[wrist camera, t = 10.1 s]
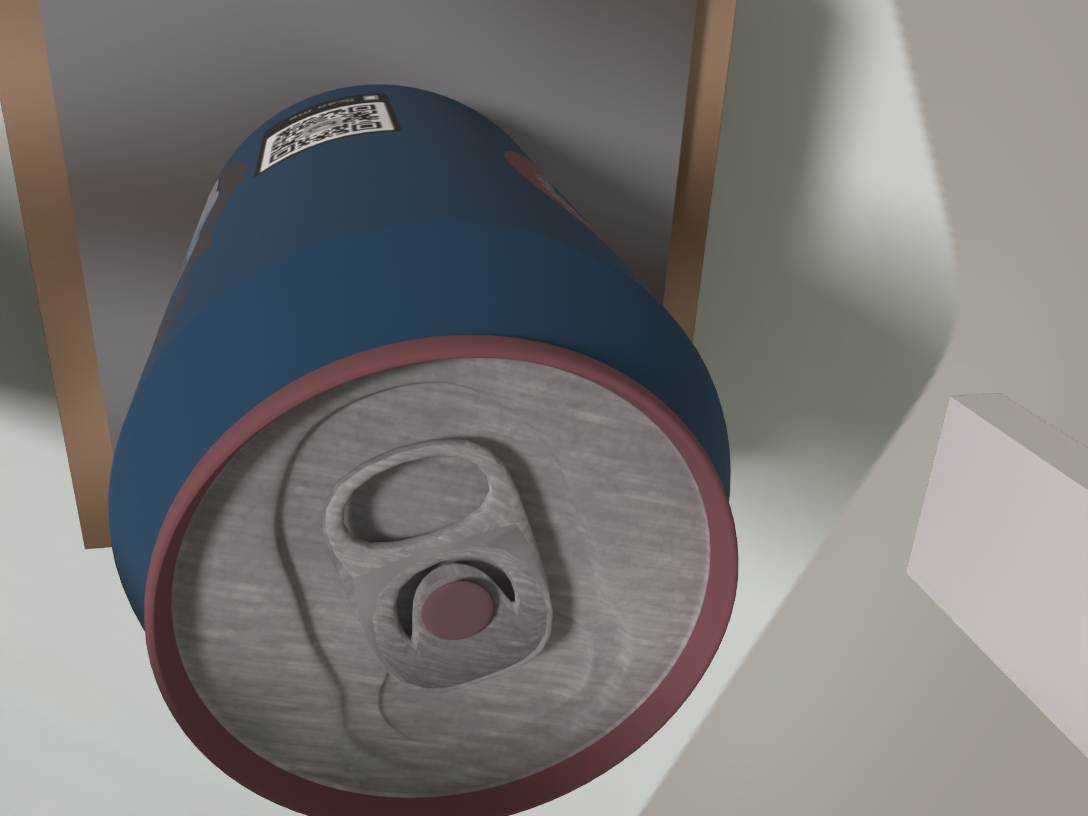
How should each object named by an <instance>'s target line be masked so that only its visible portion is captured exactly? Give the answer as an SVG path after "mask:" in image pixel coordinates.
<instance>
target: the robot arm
mask: <svg viewBox="0 0 1088 816" xmlns="http://www.w3.org/2000/svg"><path fill="white" fill-rule="evenodd" d="M906 573H907V574H908V575H909V576H910V577H911V578H912V579H913V580H914V581H915V582H916V583H917V584H918V585H919V586H920V587H921V588H922V589H923V590H924V591H925V592H926V593H927V594H928V595H929V597H930V598H931V599H932V600H933V601H934V602H935V603H936V604H937V605H938V606H939V607H940V608H941V609H942V610H943V611H944V612H945V613H946V614H947V615H948V616H949V617H950V618H951V619H952V620H953V621H954V622H955V623H956V624H957V625H958V626H959V627H960V628H961V629H962V630H963V631H964V632H965V633H966V634H967V635H968V636H969V637H970V638H971V639H972V640H973V641H974V642H975V643H976V644H977V645H978V646H979V648H981V650H982V651H983V652H984V653H985V654H986V655H988V657H989V658H990V659H991V660H992V661H993V662H994V663H995V664H996V665H997V666H998V667H999V668H1000V669H1001V670H1002V671H1003V672H1004V673H1005V674H1006V675H1007V676H1008V677H1009V678H1010V679H1011V680H1012V681H1013V682H1014V683H1015V684H1016V685H1017V686H1018V687H1019V688H1020V689H1021V690H1022V691H1023V692H1024V693H1025V694H1026V695H1027V696H1028V697H1029V698H1030V700H1032V701H1033V703H1035V705H1036V706H1037V707H1038V708H1039V709H1040V710H1041V711H1042V712H1043V713H1044V714H1045V715H1046V716H1047V717H1048V718H1049V719H1050V720H1051V721H1052V722H1053V723H1054V724H1055V725H1056V726H1057V727H1058V728H1059V729H1060V730H1061V731H1062V732H1063V733H1064V734H1065V735H1066V736H1067V737H1068V738H1069V739H1070V740H1071V741H1072V742H1073V743H1074V744H1075V745H1076V746H1077V747H1078V748H1079V749H1080V750H1081V751H1082V753H1083V754H1084V755H1085V756H1086V757H1087V758H1088V448H1087V447H1085V446H1084V445H1082V444H1081V443H1079V442H1078V441H1076V440H1074V439H1073V438H1071V437H1070V436H1068V435H1066V434H1065V433H1063V432H1062V431H1060V430H1058V429H1057V428H1055V427H1054V426H1052V425H1050V424H1049V423H1047V422H1046V421H1044V420H1042V419H1041V418H1039V417H1038V416H1036V415H1035V414H1033V413H1032V412H1030V411H1028V410H1027V409H1025V408H1024V407H1022V406H1020V405H1019V404H1017V403H1016V402H1014V401H1012V400H1011V399H1009V398H1007V397H1006V396H1004V395H1003V394H1001V393H994V394H979V395H978V394H977V395H962V396H950V398H949V402H948V406H947V410H946V414H945V418H944V422H943V426H942V430H941V434H940V438H939V442H938V446H937V450H936V454H935V458H934V462H933V466H932V470H931V475H930V478H929V482H928V487H927V491H926V495H925V499H924V503H923V507H922V511H921V515H920V519H919V523H918V527H917V531H916V535H915V539H914V543H913V547H912V551H911V555H910V559H909V563H908V567H907V571H906Z"/></svg>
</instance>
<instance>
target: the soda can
mask: <svg viewBox="0 0 1088 816" xmlns="http://www.w3.org/2000/svg"><path fill="white" fill-rule="evenodd" d="M730 472H731V469H730V452H729V442H728V436H727V429H726V424H725V420H724V416H723V411H722V407H721V404H720V401H719V398H718V395H717V392H716V389H715V386H714V384H713V381H712V379H711V377H710V374H709V372H708V370H707V367H706V366H705V364H704V362H703V360H702V358H701V356H700V355H699V353H698V351H697V349H696V348H695V346H694V345H693V343H692V342H691V340H690V339H689V337H688V336H687V334H686V333H685V331H684V330H683V329H682V328H681V326H680V325H679V324H678V323H677V322H676V320H675V319H674V318H673V317H672V315H671V314H670V313H669V312H668V311H667V310H666V309H665V308H664V306H663V305H662V304H661V303H660V302H659V301H658V300H657V299H656V298H655V296H654V295H653V294H652V293H651V292H650V291H649V290H648V289H647V288H646V287H645V285H644V284H643V283H642V282H641V281H640V280H639V279H638V278H637V277H636V275H635V274H634V273H633V272H632V271H631V270H630V269H629V268H628V267H627V265H626V264H625V263H624V262H623V261H622V260H621V259H620V258H619V257H618V255H617V254H616V253H615V252H614V251H613V250H612V249H611V248H610V247H609V245H608V244H607V243H606V242H605V241H604V240H603V239H602V238H601V237H600V236H599V234H598V233H597V232H596V231H595V230H594V229H593V228H592V227H591V226H590V224H589V223H588V222H587V221H586V220H585V219H584V218H583V217H582V216H581V214H580V213H579V212H578V211H577V210H576V209H575V208H574V207H573V206H572V204H571V203H570V202H569V201H568V200H567V199H566V198H565V197H564V196H563V194H562V193H561V192H560V191H559V190H558V189H557V188H556V187H555V186H554V185H553V183H552V182H551V181H550V180H549V179H548V178H547V177H546V176H545V175H544V173H543V172H542V171H541V170H540V169H539V168H538V167H537V166H536V165H535V163H534V162H533V161H532V160H531V159H530V158H529V157H528V156H527V155H526V153H525V152H524V151H523V150H522V149H521V148H520V147H519V146H518V145H517V144H516V143H515V142H514V141H513V140H512V139H511V137H510V136H509V135H507V134H506V133H505V132H504V131H503V130H502V129H501V128H499V127H498V126H497V125H496V124H494V123H493V122H492V121H490V120H489V119H488V118H486V117H485V116H483V115H482V114H480V113H478V112H477V111H475V110H474V109H472V108H470V107H468V106H466V105H464V104H462V103H460V102H458V101H456V100H453V99H451V98H448V97H446V96H443V95H440V94H437V93H434V92H431V91H427V90H422V89H418V88H413V87H407V86H400V85H386V84H373V85H359V86H351V87H345V88H339V89H335V90H331V91H327V92H323V93H320V94H318V95H315V96H312V97H309V98H307V99H304V100H302V101H300V102H298V103H295V104H293V105H292V106H290V107H288V108H286V109H284V110H282V111H281V112H279V113H278V114H276V115H275V116H273V117H272V118H270V119H269V120H267V121H266V122H265V123H264V124H262V125H261V126H260V127H259V128H257V129H256V130H255V131H254V132H253V133H252V134H251V135H250V136H249V137H248V138H246V139H245V140H244V142H243V143H242V144H241V145H240V146H239V147H238V148H237V149H236V151H235V152H234V153H233V154H232V156H231V157H230V159H229V160H228V161H227V163H226V164H225V166H224V167H223V169H222V170H221V172H220V174H219V175H218V177H217V179H216V181H215V183H214V185H213V187H212V189H211V192H210V194H209V197H208V199H207V202H206V204H205V207H204V210H203V212H202V215H201V218H200V220H199V223H198V226H197V228H196V231H195V234H194V236H193V239H192V242H191V244H190V247H189V250H188V252H187V255H186V258H185V260H184V263H183V266H182V268H181V271H180V274H179V276H178V279H177V282H176V284H175V287H174V290H173V292H172V295H171V298H170V300H169V303H168V306H167V308H166V311H165V314H164V316H163V319H162V322H161V324H160V327H159V330H158V332H157V335H156V338H155V340H154V343H153V346H152V348H151V351H150V354H149V356H148V359H147V362H146V364H145V367H144V370H143V372H142V375H141V378H140V380H139V383H138V386H137V388H136V391H135V394H134V396H133V399H132V402H131V404H130V407H129V410H128V412H127V415H126V418H125V420H124V423H123V426H122V428H121V432H120V435H119V438H118V442H117V445H116V449H115V452H114V458H113V463H112V468H111V473H110V483H109V495H108V520H109V529H110V538H111V545H112V550H113V555H114V559H115V564H116V567H117V571H118V574H119V577H120V580H121V583H122V586H123V588H124V591H125V593H126V595H127V598H128V600H129V602H130V605H131V607H132V609H133V611H134V613H135V615H136V616H137V618H138V620H139V622H140V624H141V626H142V627H143V629H144V631H145V634H146V644H147V649H148V654H149V659H150V664H151V667H152V670H153V673H154V676H155V680H156V682H157V685H158V687H159V689H160V692H161V694H162V696H163V699H164V701H165V702H166V704H167V706H168V708H169V710H170V711H171V713H172V715H173V717H174V718H175V720H176V721H177V723H178V724H179V726H180V727H181V728H182V730H183V731H184V733H185V734H186V735H187V736H188V738H189V739H190V740H191V741H192V742H193V744H194V745H195V746H196V747H197V748H198V749H199V750H200V751H201V752H202V753H203V754H204V755H205V756H206V757H207V758H208V759H209V760H210V761H211V762H212V763H213V764H214V765H216V766H217V767H218V768H219V769H220V770H222V771H223V772H224V773H225V774H226V775H228V776H229V777H231V778H232V779H234V780H235V781H236V782H238V783H239V784H241V785H242V786H244V787H246V788H247V789H249V790H251V791H252V792H254V793H256V794H258V795H259V796H261V797H263V798H265V799H268V800H270V801H272V802H274V803H276V804H278V805H280V806H283V807H285V808H288V809H290V810H293V811H295V812H299V813H302V814H305V815H308V816H509V815H513V814H516V813H519V812H522V811H525V810H528V809H531V808H534V807H536V806H539V805H542V804H544V803H547V802H549V801H552V800H554V799H556V798H558V797H561V796H563V795H565V794H567V793H569V792H571V791H573V790H575V789H577V788H579V787H581V786H583V785H585V784H587V783H588V782H590V781H592V780H593V779H595V778H597V777H599V776H600V775H602V774H604V773H605V772H607V771H608V770H610V769H611V768H613V767H614V766H616V765H617V764H619V763H620V762H622V761H623V760H624V759H625V758H627V757H628V756H629V755H631V754H632V753H633V752H635V751H636V750H637V749H638V748H640V747H641V746H642V745H643V744H644V743H645V742H647V741H648V740H649V739H650V738H651V737H652V736H653V735H654V734H655V733H656V732H657V731H658V730H660V729H661V728H662V727H663V726H664V725H665V724H666V723H667V721H668V720H669V719H670V718H671V717H672V716H673V715H674V714H675V713H676V712H677V710H678V709H679V708H680V707H681V706H682V704H683V703H684V702H685V701H686V699H687V698H688V697H689V696H690V694H691V693H692V691H693V690H694V688H695V687H696V686H697V684H698V683H699V681H700V680H701V678H702V677H703V675H704V673H705V672H706V670H707V668H708V667H709V665H710V663H711V661H712V660H713V658H714V656H715V654H716V652H717V650H718V648H719V646H720V643H721V641H722V639H723V637H724V634H725V632H726V629H727V626H728V623H729V620H730V617H731V614H732V609H733V605H734V601H735V597H736V589H737V581H738V545H737V537H736V530H735V524H734V520H733V516H732V512H731V508H730V504H729V497H730Z"/></svg>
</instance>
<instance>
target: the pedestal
mask: <svg viewBox="0 0 1088 816" xmlns="http://www.w3.org/2000/svg"><path fill="white" fill-rule="evenodd" d="M736 2H737V0H0V101H1V107H2V112H3V117H4V122H5V128H6V133H7V138H8V144H9V149H10V154H11V160H12V165H13V170H14V175H15V181H16V186H17V191H18V197H19V202H20V207H21V213H22V218H23V223H24V228H25V234H26V239H27V244H28V250H29V255H30V260H31V265H32V271H33V276H34V281H35V287H36V292H37V297H38V303H39V308H40V313H41V318H42V324H43V329H44V334H45V340H46V345H47V350H48V356H49V361H50V366H51V371H52V377H53V382H54V387H55V393H56V398H57V403H58V409H59V414H60V419H61V424H62V430H63V435H64V440H65V446H66V451H67V456H68V461H69V467H70V472H71V477H72V483H73V488H74V493H75V499H76V504H77V509H78V514H79V520H80V525H81V530H82V536H83V541H84V546H85V549H92V548H105V547H112V545H111V538H110V529H109V520H108V495H109V483H110V473H111V468H112V463H113V458H114V452H115V449H116V445H117V442H118V438H119V435H120V432H121V428H122V426H123V423H124V420H125V418H126V415H127V412H128V410H129V407H130V404H131V402H132V399H133V396H134V394H135V391H136V388H137V386H138V383H139V380H140V378H141V375H142V372H143V370H144V367H145V364H146V362H147V359H148V356H149V354H150V351H151V348H152V346H153V343H154V340H155V338H156V335H157V332H158V330H159V327H160V324H161V322H162V319H163V316H164V314H165V311H166V308H167V306H168V303H169V300H170V298H171V295H172V292H173V290H174V287H175V284H176V282H177V279H178V276H179V274H180V271H181V268H182V266H183V263H184V260H185V258H186V255H187V252H188V250H189V247H190V244H191V242H192V239H193V236H194V234H195V231H196V228H197V226H198V223H199V220H200V218H201V215H202V212H203V210H204V207H205V204H206V202H207V199H208V197H209V194H210V192H211V189H212V187H213V185H214V183H215V181H216V179H217V177H218V175H219V174H220V172H221V170H222V169H223V167H224V166H225V164H226V163H227V161H228V160H229V159H230V157H231V156H232V154H233V153H234V152H235V151H236V149H237V148H238V147H239V146H240V145H241V144H242V143H243V142H244V140H245V139H246V138H248V137H249V136H250V135H251V134H252V133H253V132H254V131H255V130H256V129H257V128H259V127H260V126H261V125H262V124H264V123H265V122H266V121H267V120H269V119H270V118H272V117H273V116H275V115H276V114H278V113H279V112H281V111H282V110H284V109H286V108H288V107H290V106H292V105H293V104H295V103H298V102H300V101H302V100H304V99H307V98H309V97H312V96H315V95H318V94H320V93H323V92H327V91H331V90H335V89H339V88H345V87H351V86H359V85H373V84H386V85H400V86H407V87H413V88H418V89H422V90H427V91H431V92H434V93H437V94H440V95H443V96H446V97H448V98H451V99H453V100H456V101H458V102H460V103H462V104H464V105H466V106H468V107H470V108H472V109H474V110H475V111H477V112H478V113H480V114H482V115H483V116H485V117H486V118H488V119H489V120H490V121H492V122H493V123H494V124H496V125H497V126H498V127H499V128H501V129H502V130H503V131H504V132H505V133H506V134H507V135H509V136H510V137H511V139H512V140H513V141H514V142H515V143H516V144H517V145H518V146H519V147H520V148H521V149H522V150H523V151H524V152H525V153H526V155H527V156H528V157H529V158H530V159H531V160H532V161H533V162H534V163H535V165H536V166H537V167H538V168H539V169H540V170H541V171H542V172H543V173H544V175H545V176H546V177H547V178H548V179H549V180H550V181H551V182H552V183H553V185H554V186H555V187H556V188H557V189H558V190H559V191H560V192H561V193H562V194H563V196H564V197H565V198H566V199H567V200H568V201H569V202H570V203H571V204H572V206H573V207H574V208H575V209H576V210H577V211H578V212H579V213H580V214H581V216H582V217H583V218H584V219H585V220H586V221H587V222H588V223H589V224H590V226H591V227H592V228H593V229H594V230H595V231H596V232H597V233H598V234H599V236H600V237H601V238H602V239H603V240H604V241H605V242H606V243H607V244H608V245H609V247H610V248H611V249H612V250H613V251H614V252H615V253H616V254H617V255H618V257H619V258H620V259H621V260H622V261H623V262H624V263H625V264H626V265H627V267H628V268H629V269H630V270H631V271H632V272H633V273H634V274H635V275H636V277H637V278H638V279H639V280H640V281H641V282H642V283H643V284H644V285H645V287H646V288H647V289H648V290H649V291H650V292H651V293H652V294H653V295H654V296H655V298H656V299H657V300H658V301H659V302H660V303H661V304H662V305H663V306H664V308H665V309H666V310H667V311H668V312H669V313H670V314H671V315H672V317H673V318H674V319H675V320H676V322H677V323H678V324H679V325H680V326H681V328H682V329H683V330H684V331H685V333H686V334H687V336H688V337H689V339H690V340H691V342H693V334H694V326H695V319H696V311H697V303H698V295H699V288H700V280H701V272H702V265H703V257H704V249H705V241H706V234H707V226H708V218H709V210H710V203H711V195H712V187H713V179H714V172H715V164H716V156H717V149H718V141H719V133H720V125H721V118H722V110H723V102H724V94H725V87H726V79H727V71H728V64H729V56H730V48H731V40H732V33H733V25H734V17H735V9H736Z"/></svg>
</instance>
